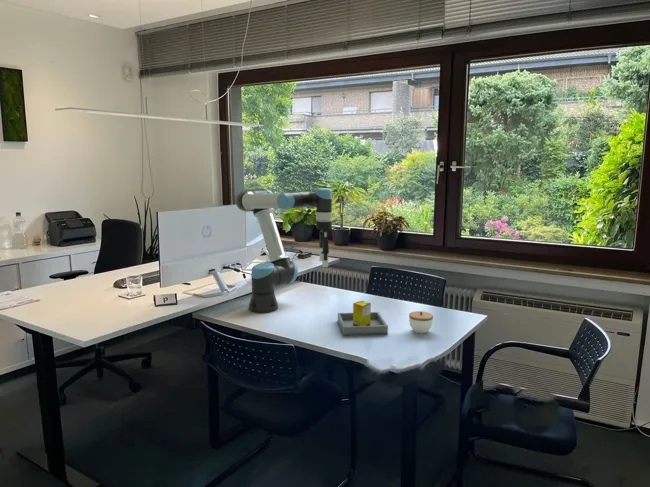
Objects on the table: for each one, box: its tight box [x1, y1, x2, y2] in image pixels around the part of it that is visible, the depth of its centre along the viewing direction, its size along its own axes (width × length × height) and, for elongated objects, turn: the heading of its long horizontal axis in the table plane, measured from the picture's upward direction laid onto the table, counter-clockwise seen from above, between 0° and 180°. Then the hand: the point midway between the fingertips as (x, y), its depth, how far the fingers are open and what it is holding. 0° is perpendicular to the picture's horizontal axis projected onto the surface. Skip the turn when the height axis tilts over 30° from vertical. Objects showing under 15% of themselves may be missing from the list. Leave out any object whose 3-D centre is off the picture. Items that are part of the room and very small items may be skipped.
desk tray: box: [337, 311, 389, 337], centre depth 228 cm, size 20×20×4 cm
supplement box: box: [352, 300, 372, 326], centre depth 227 cm, size 6×6×11 cm
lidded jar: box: [408, 310, 434, 334], centre depth 223 cm, size 11×11×9 cm
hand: (323, 263), depth 239 cm, fingers open, 13 cm apart
